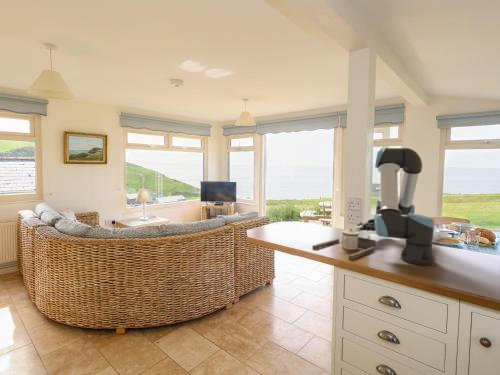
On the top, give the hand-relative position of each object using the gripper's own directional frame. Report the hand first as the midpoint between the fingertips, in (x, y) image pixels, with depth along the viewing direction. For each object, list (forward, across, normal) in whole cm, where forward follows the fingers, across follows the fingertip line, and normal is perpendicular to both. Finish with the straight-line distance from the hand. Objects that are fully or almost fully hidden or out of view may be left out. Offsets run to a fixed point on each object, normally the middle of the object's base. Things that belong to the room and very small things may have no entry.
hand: (356, 229), depth 167 cm
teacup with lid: (+9, 0, -10) cm, 13 cm away
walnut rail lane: (+14, 0, -10) cm, 17 cm away
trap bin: (-5, 0, -10) cm, 11 cm away
